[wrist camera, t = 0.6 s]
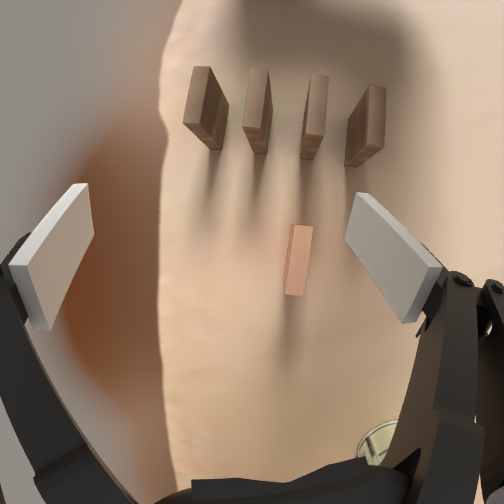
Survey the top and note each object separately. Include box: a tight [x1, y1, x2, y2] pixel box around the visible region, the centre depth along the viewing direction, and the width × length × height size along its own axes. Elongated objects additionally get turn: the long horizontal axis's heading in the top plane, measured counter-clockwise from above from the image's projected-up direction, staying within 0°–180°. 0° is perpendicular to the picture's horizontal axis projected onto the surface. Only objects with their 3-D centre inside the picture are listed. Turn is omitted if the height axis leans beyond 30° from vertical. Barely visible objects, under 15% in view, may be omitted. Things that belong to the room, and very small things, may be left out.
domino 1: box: [183, 66, 229, 150], centre depth 32 cm, size 2×6×11 cm, turn 172°
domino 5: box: [344, 85, 386, 167], centre depth 31 cm, size 2×6×11 cm, turn 172°
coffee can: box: [357, 420, 398, 465], centre depth 32 cm, size 10×10×14 cm
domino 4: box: [300, 74, 329, 160], centre depth 31 cm, size 2×6×11 cm, turn 173°
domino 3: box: [284, 224, 313, 297], centre depth 32 cm, size 2×6×11 cm, turn 173°
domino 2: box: [242, 68, 273, 154], centre depth 32 cm, size 2×6×11 cm, turn 173°
